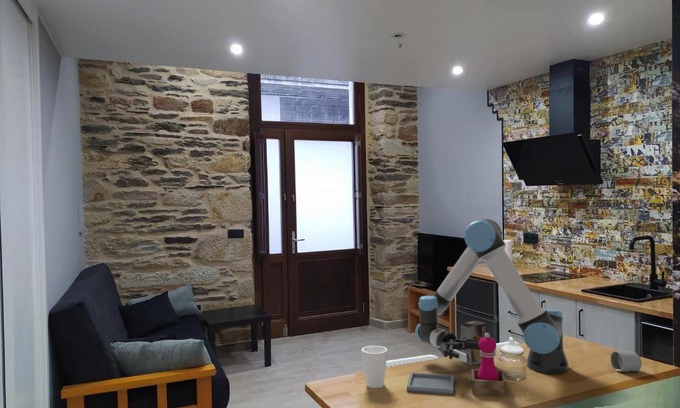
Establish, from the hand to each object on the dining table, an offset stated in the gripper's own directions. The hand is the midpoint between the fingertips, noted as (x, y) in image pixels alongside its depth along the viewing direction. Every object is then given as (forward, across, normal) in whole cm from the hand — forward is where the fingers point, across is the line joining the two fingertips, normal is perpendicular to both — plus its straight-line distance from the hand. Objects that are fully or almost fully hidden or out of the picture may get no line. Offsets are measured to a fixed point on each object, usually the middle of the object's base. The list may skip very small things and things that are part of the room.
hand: (481, 355), depth 168 cm
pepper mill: (+3, -1, -12) cm, 12 cm away
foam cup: (-20, +32, -12) cm, 40 cm away
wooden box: (+3, -1, -11) cm, 12 cm away
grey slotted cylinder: (+13, -59, -12) cm, 61 cm away
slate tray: (-10, +15, -11) cm, 21 cm away
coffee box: (-22, -16, -12) cm, 30 cm away
